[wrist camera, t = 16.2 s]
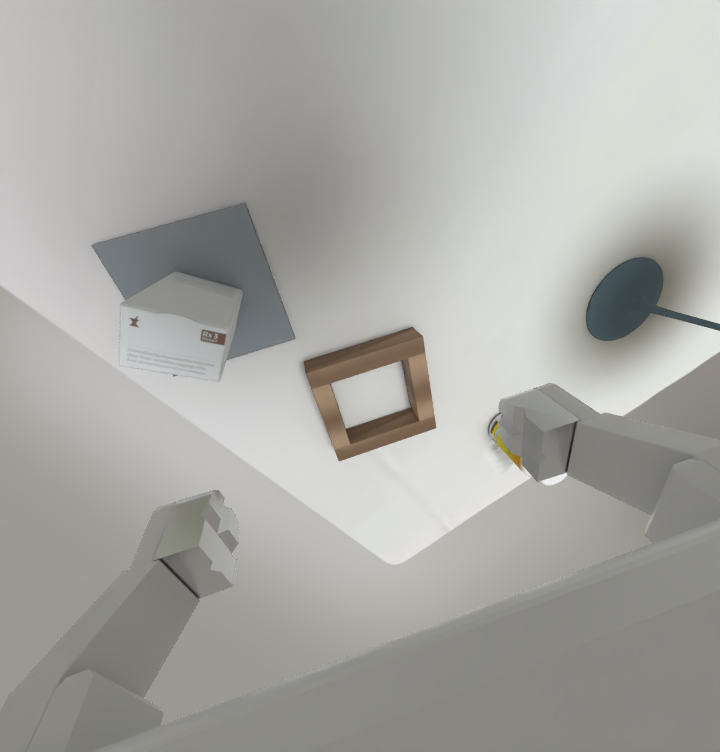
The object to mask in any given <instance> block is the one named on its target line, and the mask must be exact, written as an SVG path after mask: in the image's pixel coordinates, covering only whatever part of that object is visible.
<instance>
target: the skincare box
mask: <svg viewBox="0 0 720 752" xmlns="http://www.w3.org/2000/svg"><path fill="white" fill-rule="evenodd" d="M242 295H243V290H241V289H238V288H234V287H231V286H227V285H224V284H220V283H216V282H213V281H209V280H206V279H202V278H198V277H195V276H191V275H188V274H184V273H181V272H176V271H175V272H173V273H171V274H170V275H168V276H166V277H164V278H163V279H161V280H159V281H158V282H156V283H154V284H152V285H151V286H149V287H148V288H146V289H144V290H142V291H141V292H139V293H137V294H136V295H134V296H132V297H131V298H129V299H127V300H125V301H124V302H122V303H121V304H120V338H119V365H120V366H124V367H131V368H137V369H143V370H150V371H156V372H162V373H168V374H174V375H180V376H186V377H192V378H198V379H204V380H211V381H216V382H219V381H220V379H221V376H222V373H223V370H224V366H225V363H226V359H227V356H228V352H229V349H230V346H231V343H232V339H233V336H234V333H235V330H236V324H237V318H238V313H239V309H240V304H241V299H242Z"/></svg>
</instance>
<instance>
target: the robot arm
mask: <svg viewBox="0 0 720 752" xmlns="http://www.w3.org/2000/svg"><path fill="white" fill-rule="evenodd" d="M499 412H500V413H501V414H502V415H503V416H502V418H501V419H500V421H499V422H498V431H499V434H500V437H501V440H502V442H503V444H504V445H505V447H506V448H507V449H508V450H509V451H510V452H511V453H512V454H515V455H517V456H520V457H521V465H522V466H523V467H524V468H525V469H526V470H527V471H528V472H529V473H530V474H531V476H532V477H534V479H535V480H536V481H537V482H539V481H542V480H545V479H549V478H552V477H555V476H558V475H562V474H565V473H567V475H569V476H571V477H573V478H575V479H577V480H579V481H581V482H583V483H585V484H587V485H590V486H592V487H594V488H596V489H598V490H600V491H602V492H604V493H606V494H608V495H610V496H612V497H614V498H617V499H619V500H621V501H623V502H625V503H627V504H629V505H631V506H633V507H635V508H637V509H639V510H642V511H643V512H645V513H647V514H650V515H651V517H650V520H649V522H648V524H647V526H646V528H645V536H646V537H647V538H648V539H649V540H650V541H651V542H652V543H653V544H650V545H647V546H645V547H642V548H639V549H636V550H634V551H631V552H628V553H626V554H623V555H620V556H618V557H615V558H612V559H609V560H607V561H604V562H601V563H599V564H596V565H593V566H591V567H588V568H586V569H582V570H580V571H577V572H574V573H572V574H569V575H566V576H564V577H561V578H558V579H555V580H553V581H551V582H547V583H545V584H542V585H539V586H536V587H534V588H531V589H528V590H526V591H523V592H520V593H518V594H515V595H512V596H509V597H507V598H504V599H501V600H499V601H496V602H493V603H491V604H488V605H485V606H482V607H480V608H477V609H474V610H472V611H469V612H467V613H464V614H461V615H458V616H455V617H453V618H450V619H447V620H445V621H442V622H439V623H437V624H434V625H431V626H428V627H426V628H423V629H420V630H418V631H415V632H412V633H410V634H407V635H404V636H402V637H399V638H396V639H393V640H391V641H388V642H385V643H382V644H380V645H377V646H374V647H372V648H369V649H366V650H364V651H361V652H358V653H356V654H353V655H350V656H348V657H345V658H342V659H339V660H337V661H334V662H331V663H328V664H326V665H323V666H320V667H318V668H315V669H312V670H310V671H307V672H304V673H302V674H299V675H296V676H293V677H291V678H288V679H286V680H283V681H280V682H277V683H275V684H272V685H269V686H266V687H264V688H261V689H258V690H256V691H253V692H250V693H248V694H245V695H242V696H240V697H237V698H234V699H231V700H229V701H226V702H223V703H221V704H218V705H215V706H213V707H210V708H208V709H205V710H202V711H199V712H197V713H194V714H191V715H188V716H186V717H183V718H180V719H177V720H175V721H172V722H170V723H167V724H164V725H161V722H162V718H163V711H162V710H161V708H160V707H159V706H157V705H155V704H153V703H151V702H149V701H147V700H146V699H144V697H145V695H146V693H147V691H148V690H149V688H150V686H151V685H152V683H153V681H154V679H155V678H156V676H157V674H158V672H159V671H160V669H161V667H162V665H163V664H164V662H165V660H166V658H167V657H168V655H169V653H170V652H171V650H172V648H173V646H174V645H175V643H176V641H177V639H178V637H179V636H180V634H181V632H182V630H183V629H184V627H185V625H186V624H187V622H188V620H189V618H190V617H191V615H192V613H193V612H194V610H195V608H196V606H197V605H198V603H199V599H200V598H202V597H205V596H208V595H211V594H213V593H216V592H219V591H221V590H224V589H227V588H229V587H232V586H233V583H234V574H235V567H236V559H235V557H234V556H233V555H232V552H233V551H234V549H235V548H236V546H237V545H238V543H239V524H238V520H237V517H236V515H235V513H234V511H233V510H232V508H229V507H226V506H224V505H223V504H224V499H225V498H224V497H223V495H222V494H221V493H220V491H219V490H213V491H210V492H207V493H203V494H199V495H196V496H193V497H189V498H186V499H182V500H179V501H177V502H174V503H170V504H167V505H163V506H160V507H158V508H157V509H156V510H155V511H154V512H153V513H152V516H151V519H150V521H149V523H148V525H147V528H146V530H145V533H144V535H143V538H142V540H141V542H140V545H139V547H138V549H137V552H136V554H135V557H134V559H133V562H132V564H131V566H130V569H129V570H126V571H124V572H122V573H121V574H120V575H119V577H118V578H116V580H115V581H114V582H113V583H112V584H111V585H110V586H109V587H108V588H107V589H106V590H105V592H104V593H103V594H102V595H101V596H100V597H99V598H98V599H97V600H96V601H95V602H94V603H93V605H91V607H90V608H89V609H88V610H87V611H86V612H85V613H84V614H83V615H82V616H81V617H80V618H79V620H78V621H77V622H76V623H75V624H74V625H73V626H72V627H71V628H70V629H69V630H68V631H67V633H66V634H65V635H64V636H63V637H62V638H61V639H60V640H59V641H58V642H57V643H56V645H54V647H53V648H52V649H51V650H50V651H49V652H48V653H47V654H46V655H45V656H44V657H43V659H42V660H41V661H40V662H39V663H38V664H37V665H36V666H35V667H34V668H33V669H32V670H31V671H30V673H29V674H28V675H27V676H26V677H25V678H24V679H23V680H22V681H21V682H20V683H19V684H18V686H17V687H16V688H15V689H14V690H13V691H12V692H11V693H10V694H9V696H8V697H7V699H6V701H5V703H4V705H3V706H2V708H1V710H0V752H720V440H717V439H713V438H709V437H705V436H700V435H696V434H692V433H688V432H684V431H680V430H676V429H671V428H667V427H663V426H659V425H655V424H651V423H647V422H642V421H638V420H634V419H630V418H626V417H622V416H618V415H613V414H609V413H603V414H599V413H598V412H596V411H595V410H593V409H592V408H590V407H589V406H587V405H586V404H584V403H583V402H581V401H580V400H578V399H577V398H575V397H574V396H572V395H571V394H569V393H568V392H566V391H565V390H563V389H562V388H560V387H559V386H557V385H556V384H552V383H549V384H546V385H543V386H540V387H537V388H534V389H531V390H528V391H525V392H522V393H519V394H516V395H513V396H510V397H506V398H503V399H501V400H500V402H499Z"/></svg>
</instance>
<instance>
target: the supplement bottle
mask: <svg viewBox="0 0 720 752" xmlns="http://www.w3.org/2000/svg"><path fill="white" fill-rule="evenodd" d="M502 416H503V415H502V414H499V415H498V416H497V417H496V418H495V419H494V420H493V421H492V423H491V425H490V428H489V434H490V436H491V438H492V439H493V440H494V441H495V442H496V444H497V445H498V446H499V447H500V448H501V449H502V450H503V451H504V452H505V453H506V454H507V455H508V456H509V458H510V459H511V460H512V461H513V462H514V463H515V464H516V465H517V466H518V467H519V468H520V469H521V470H522V471H523V472H524V473H525V474H526V475H528V476H530V477H532V476H531V474H530V473H529V472H528V471H527V470H526V469H525V468H524V467H523V466H522V465H521V457H520V456H517V455H515V454H512V453H511V452H510V451H509V450H508V449H507V448H506V447H505V445H504V444H503V442H502V440H501V437H500V434H499V431H498V422H499V421H500V419H501V418H502ZM566 476H567V473H565V474H562V475H558V476H555V477H552V478H549V479H545V480H542V481H541V482H542V483H543V484H545V485H553V484H556V483H558V482H560V481H561V480H563V479H564V478H565V477H566Z"/></svg>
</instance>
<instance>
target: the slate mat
mask: <svg viewBox="0 0 720 752" xmlns="http://www.w3.org/2000/svg"><path fill="white" fill-rule="evenodd" d="M91 246H92V247H93V249H94V250H95V252H96V254H97V255H98V257H99V258H100V260H101V262H102V263H103V265H104V266H105V268H106V270H107V271H108V273H109V274H110V276H111V277H112V279H113V281H114V282H115V284H116V285H117V287H118V289H119V290H120V292H121V293H122V295H123V297H124V298H125V300H127V299H129V298H131V297H132V296H134V295H136V294H137V293H139V292H141V291H142V290H144V289H146V288H148V287H149V286H151V285H152V284H154V283H156V282H158V281H159V280H161V279H163V278H164V277H166V276H168V275H170V274H171V273H173V272H175V271H176V272H181V273H184V274H188V275H191V276H195V277H198V278H202V279H206V280H209V281H213V282H216V283H220V284H224V285H227V286H231V287H234V288H238V289H241V290H243V295H242V299H241V304H240V309H239V313H238V318H237V324H236V330H235V333H234V336H233V339H232V343H231V346H230V349H229V352H228V356H227V359H226V360H229V359H232V358H235V357H238V356H242V355H245V354H248V353H251V352H254V351H258V350H261V349H264V348H267V347H271V346H274V345H277V344H280V343H284V342H287V341H290V340H293V339H295V336H294V333H293V331H292V328H291V325H290V322H289V320H288V317H287V314H286V312H285V309H284V306H283V304H282V301H281V298H280V296H279V293H278V290H277V287H276V285H275V282H274V279H273V277H272V274H271V271H270V269H269V266H268V263H267V261H266V258H265V255H264V252H263V250H262V247H261V244H260V242H259V239H258V236H257V234H256V231H255V228H254V226H253V223H252V220H251V217H250V215H249V212H248V209H247V207H246V204H245V203H244V204H240V205H237V206H233V207H229V208H226V209H222V210H218V211H215V212H211V213H207V214H204V215H200V216H196V217H193V218H189V219H185V220H182V221H178V222H174V223H171V224H167V225H163V226H160V227H156V228H152V229H149V230H145V231H141V232H137V233H134V234H130V235H126V236H123V237H119V238H115V239H112V240H108V241H104V242H101V243H97V244H93V245H91ZM172 375H173V376H177V375H174V374H172Z"/></svg>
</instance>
